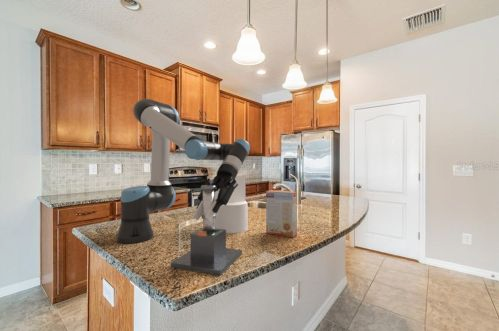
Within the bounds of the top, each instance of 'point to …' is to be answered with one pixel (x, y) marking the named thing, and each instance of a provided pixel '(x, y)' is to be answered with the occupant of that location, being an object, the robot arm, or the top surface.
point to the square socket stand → (208, 253)
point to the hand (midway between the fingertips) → (201, 218)
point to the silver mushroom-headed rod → (207, 202)
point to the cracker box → (281, 213)
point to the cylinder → (234, 209)
